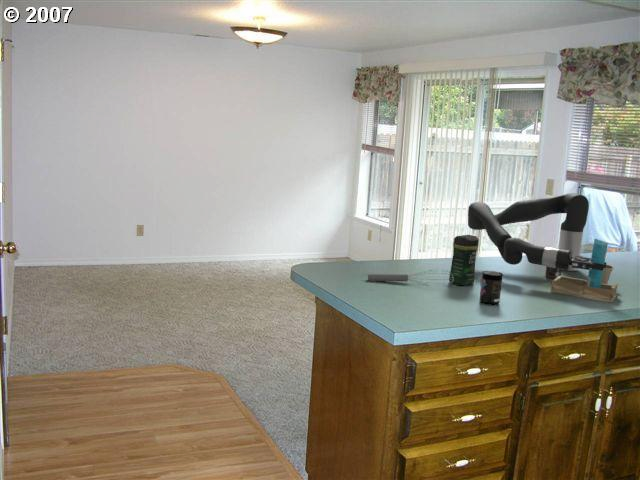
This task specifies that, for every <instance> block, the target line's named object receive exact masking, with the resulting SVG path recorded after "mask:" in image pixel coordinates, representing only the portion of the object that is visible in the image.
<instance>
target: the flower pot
mask: <svg viewBox="0 0 640 480" xmlns="http://www.w3.org/2000/svg"><path fill="white" fill-rule="evenodd" d="M614 269H615V267H614V266H612V265H609V264H606V267H605V268H604V270H603V275H602V282H601V283H602V284H608V283H609V280H610V278H611V277H610V276H611V273H612V272H613V270H614ZM608 285H609V284H608Z"/></svg>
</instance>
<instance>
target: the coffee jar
mask: <svg viewBox="0 0 640 480" xmlns="http://www.w3.org/2000/svg"><path fill="white" fill-rule="evenodd" d="M452 246H453V247H452V249H453V250H452V260H451V266H450V271H449V272H450V273H449V274H450V275H449V276H448V279H450V280H448V283H450V282H451V283H450V284H453V285H455V286H458V285H459V286H460V285H461V286H470V285H473V284H474V283H475V273H476V258H477V252H478V248H479V238H478V236H476V235H472V234H463V235H457V236H455V237H454V238H453V243H452ZM451 275H453V277H454V281H453V282H452V280H453V278H451V277H452V276H451Z"/></svg>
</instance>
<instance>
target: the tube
mask: <svg viewBox="0 0 640 480" xmlns="http://www.w3.org/2000/svg"><path fill="white" fill-rule="evenodd" d="M608 245H609V242H607V241H603V240H600V239H597V238H594V241H593V247H592V252H591V257H590V258H591V261H590V262H593V263H598V264H604V263H605V262H606V256H607V250H608ZM602 275H603V270H596V269H589V270H588V275H587V276H588V277H587V286H590V287H596V288H601V282H602Z"/></svg>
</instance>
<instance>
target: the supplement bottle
mask: <svg viewBox="0 0 640 480" xmlns="http://www.w3.org/2000/svg"><path fill="white" fill-rule="evenodd" d="M562 271H563V270H562V269H557V268H551V267H547V266H545V277H546V278H549V279H553V280H554V279H556V278H557V277H558V276H562Z"/></svg>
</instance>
